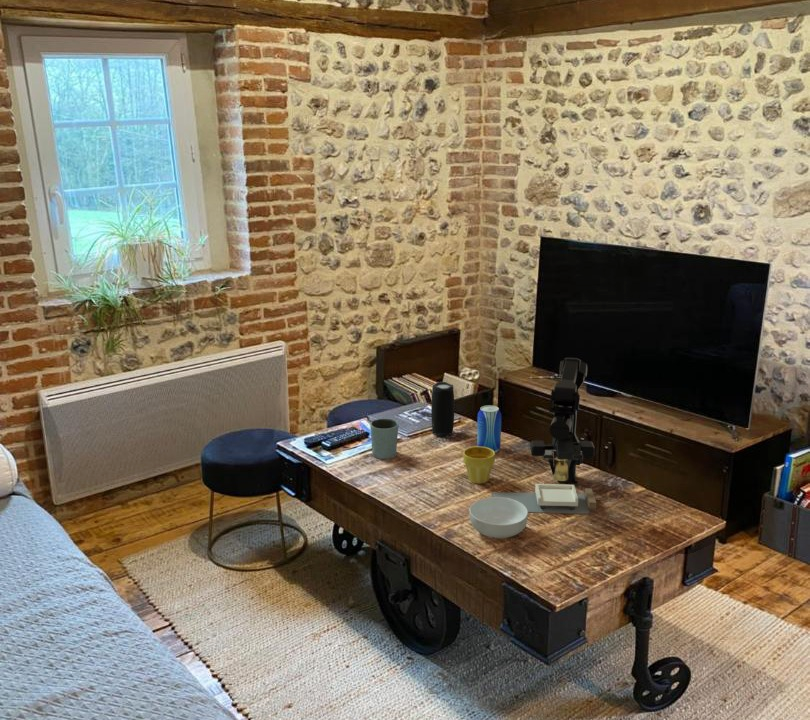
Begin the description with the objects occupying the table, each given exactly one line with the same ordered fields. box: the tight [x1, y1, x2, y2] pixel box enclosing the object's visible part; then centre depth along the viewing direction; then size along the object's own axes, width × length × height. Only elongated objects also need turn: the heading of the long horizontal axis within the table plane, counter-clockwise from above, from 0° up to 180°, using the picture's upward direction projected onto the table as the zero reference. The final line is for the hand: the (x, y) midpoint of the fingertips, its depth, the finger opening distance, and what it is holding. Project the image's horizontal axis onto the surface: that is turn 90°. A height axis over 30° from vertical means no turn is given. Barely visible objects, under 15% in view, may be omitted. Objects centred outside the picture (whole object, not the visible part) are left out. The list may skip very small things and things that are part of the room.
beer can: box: [476, 404, 502, 454], centre depth 287 cm, size 8×8×16 cm
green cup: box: [369, 417, 399, 460], centre depth 284 cm, size 10×10×12 cm
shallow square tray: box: [534, 483, 578, 510], centre depth 248 cm, size 10×12×4 cm
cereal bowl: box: [468, 496, 529, 539], centre depth 230 cm, size 17×17×7 cm
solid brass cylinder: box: [553, 457, 569, 481], centre depth 243 cm, size 4×4×6 cm
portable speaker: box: [430, 381, 455, 438], centre depth 302 cm, size 9×9×20 cm
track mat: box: [491, 491, 591, 515], centre depth 249 cm, size 13×29×1 cm, turn 86°
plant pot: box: [462, 445, 496, 485], centre depth 264 cm, size 10×10×10 cm
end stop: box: [584, 487, 597, 513], centre depth 247 cm, size 10×2×3 cm, turn 176°
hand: (560, 474), depth 244 cm, fingers closed on solid brass cylinder, 4 cm apart
